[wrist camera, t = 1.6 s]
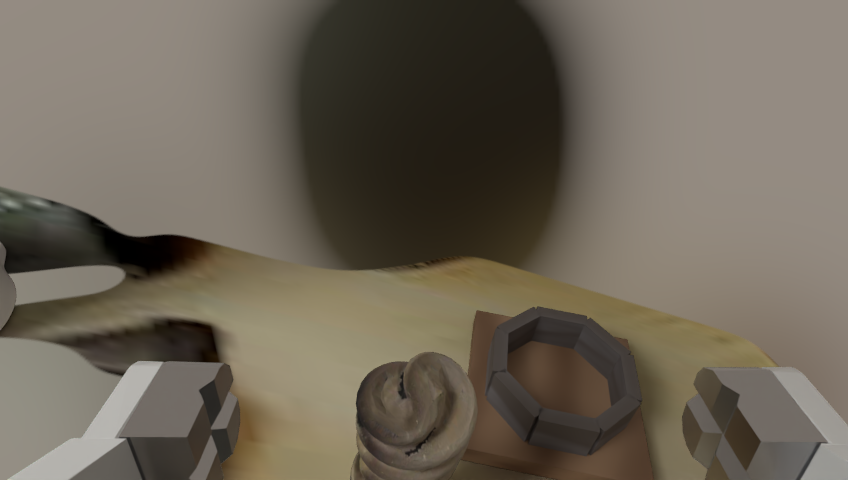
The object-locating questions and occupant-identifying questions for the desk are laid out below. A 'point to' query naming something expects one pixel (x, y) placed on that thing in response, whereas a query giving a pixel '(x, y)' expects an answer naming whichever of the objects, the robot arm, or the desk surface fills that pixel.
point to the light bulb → (413, 419)
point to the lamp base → (555, 398)
